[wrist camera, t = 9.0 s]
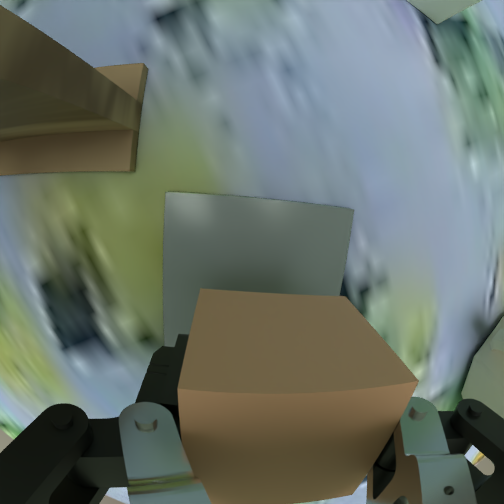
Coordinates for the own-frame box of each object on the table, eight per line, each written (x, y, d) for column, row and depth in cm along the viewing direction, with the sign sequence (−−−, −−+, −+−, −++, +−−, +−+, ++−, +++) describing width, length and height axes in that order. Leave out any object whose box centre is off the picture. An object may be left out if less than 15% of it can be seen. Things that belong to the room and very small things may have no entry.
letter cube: (200, 288, 10) (177, 388, 5) (345, 296, 10) (418, 380, 5) (198, 403, 11) (189, 505, 6) (316, 405, 11) (350, 497, 6)
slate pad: (168, 191, 15) (165, 192, 14) (348, 208, 16) (354, 209, 15) (167, 352, 18) (165, 359, 17) (319, 358, 19) (322, 365, 18)
